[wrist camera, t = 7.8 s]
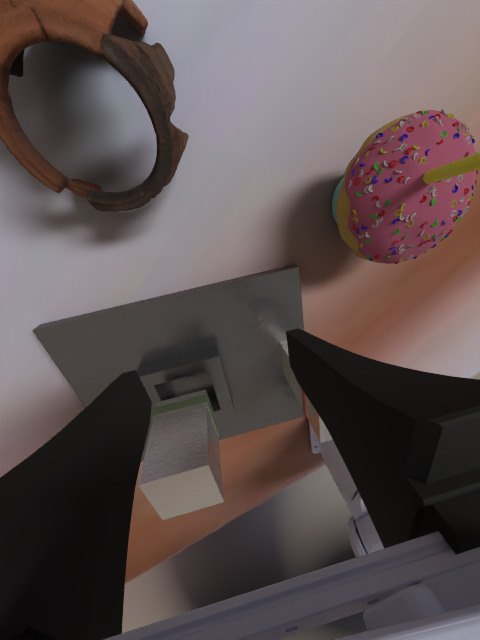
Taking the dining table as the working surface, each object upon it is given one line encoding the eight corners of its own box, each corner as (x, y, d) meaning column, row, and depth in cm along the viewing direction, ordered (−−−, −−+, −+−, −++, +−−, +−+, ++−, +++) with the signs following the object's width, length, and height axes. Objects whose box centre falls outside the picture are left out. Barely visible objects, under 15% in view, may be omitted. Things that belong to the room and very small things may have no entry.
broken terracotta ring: (199, 38, 14) (220, 67, 9) (162, 188, 20) (163, 247, 16) (-130, -217, 8) (-509, -476, 3) (-36, 108, 14) (-125, 168, 10)
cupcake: (289, 205, 18) (419, 193, 7) (372, 103, 16) (712, -111, 5) (350, 272, 21) (501, 331, 11) (425, 195, 20) (702, 172, 9)
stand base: (306, 408, 28) (350, 485, 20) (128, 457, 27) (98, 562, 19) (294, 264, 20) (357, 298, 12) (40, 324, 19) (-78, 407, 11)
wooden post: (217, 423, 20) (225, 502, 15) (172, 435, 20) (162, 520, 14) (206, 388, 18) (209, 464, 13) (155, 402, 18) (136, 484, 13)
